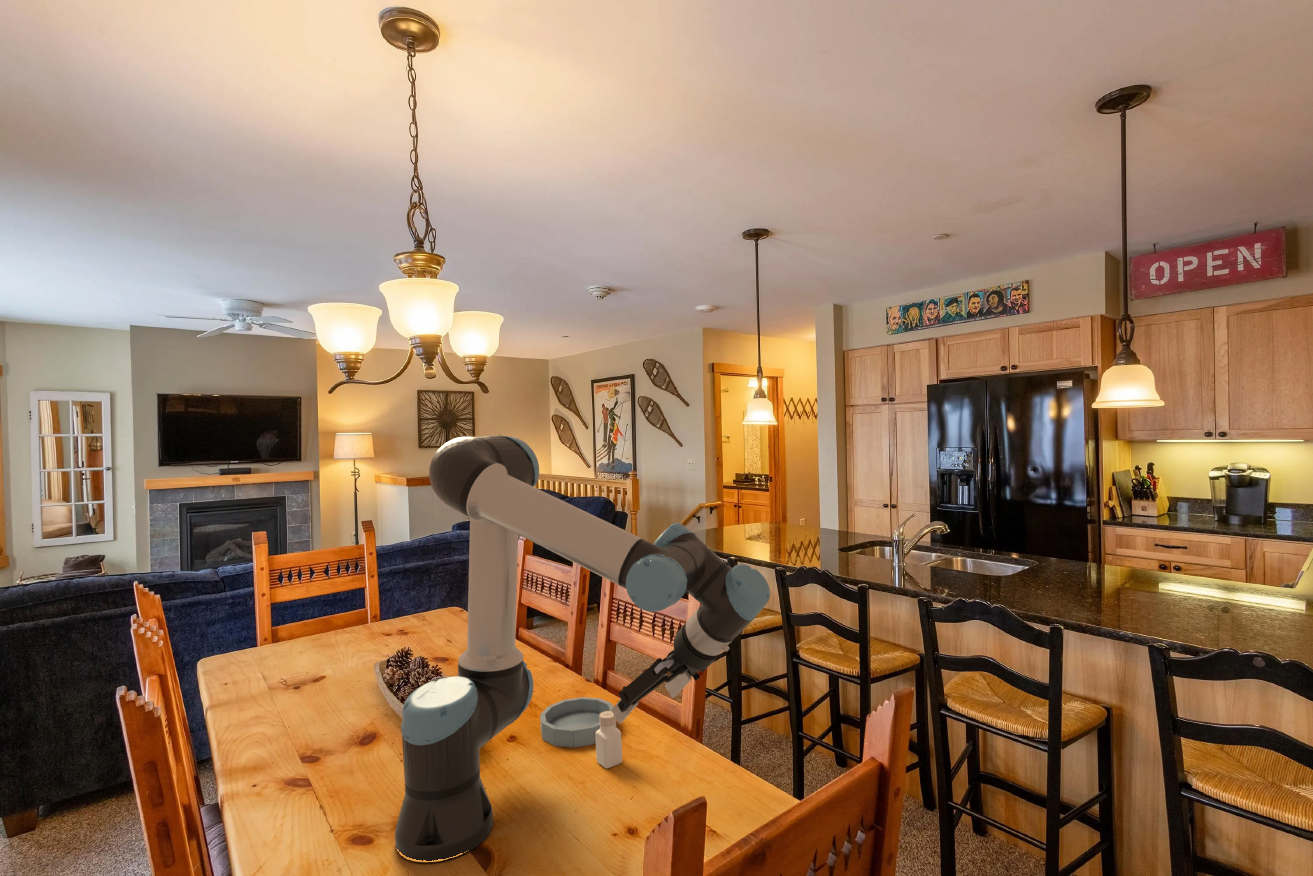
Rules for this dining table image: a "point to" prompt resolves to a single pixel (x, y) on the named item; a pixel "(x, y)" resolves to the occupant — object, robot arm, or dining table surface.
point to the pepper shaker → (608, 741)
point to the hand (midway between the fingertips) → (644, 703)
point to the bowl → (573, 721)
